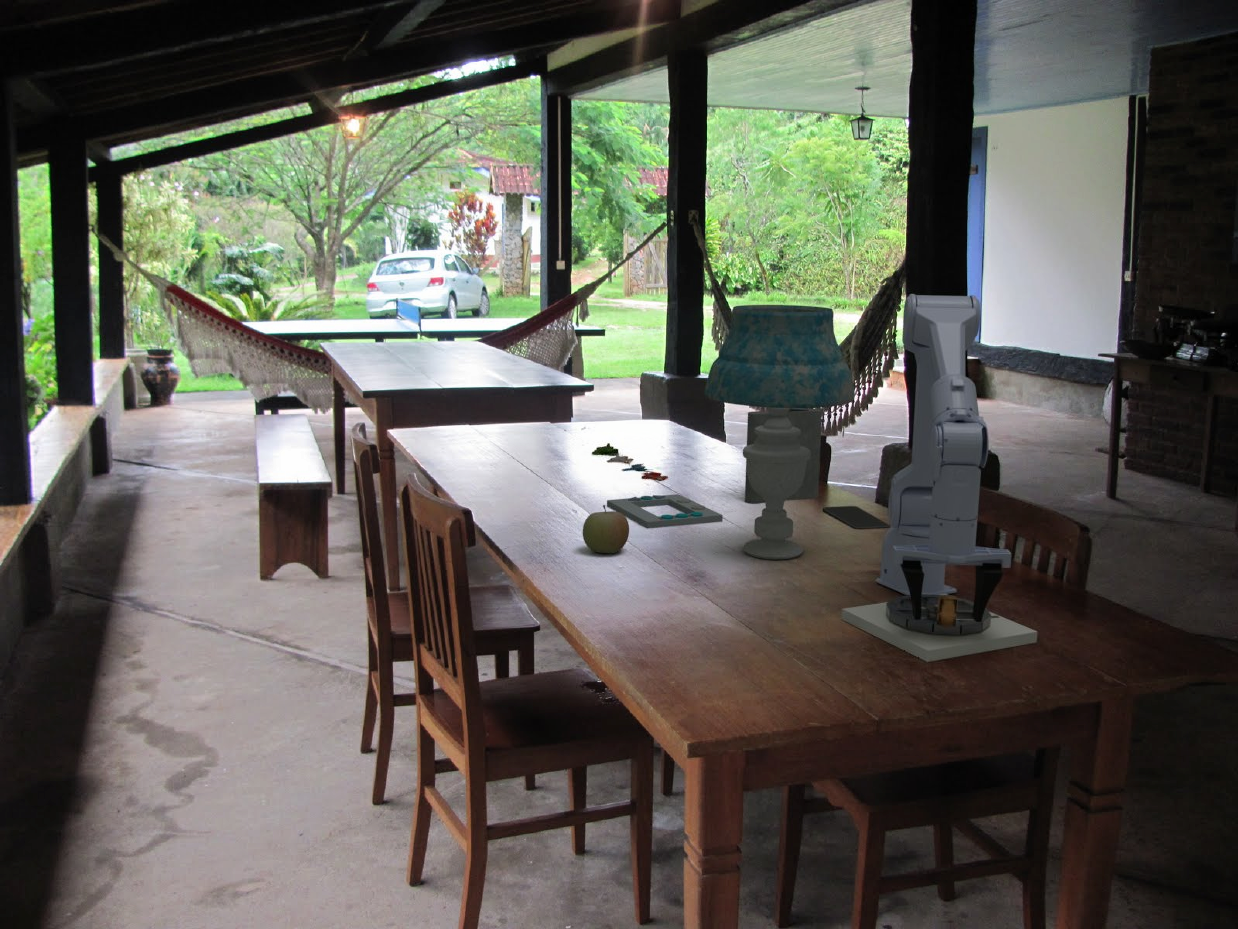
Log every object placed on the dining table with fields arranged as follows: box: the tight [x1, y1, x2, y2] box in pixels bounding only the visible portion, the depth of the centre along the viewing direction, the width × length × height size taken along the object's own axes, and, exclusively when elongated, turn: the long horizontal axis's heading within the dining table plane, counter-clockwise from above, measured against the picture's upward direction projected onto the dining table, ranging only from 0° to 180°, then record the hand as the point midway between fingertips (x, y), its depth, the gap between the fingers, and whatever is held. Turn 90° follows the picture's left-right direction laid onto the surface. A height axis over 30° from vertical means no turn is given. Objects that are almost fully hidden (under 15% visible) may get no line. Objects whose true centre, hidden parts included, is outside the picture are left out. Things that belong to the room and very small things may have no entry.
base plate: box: [841, 594, 1038, 663], centre depth 165 cm, size 18×18×2 cm
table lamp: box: [704, 304, 856, 561], centre depth 198 cm, size 24×24×40 cm
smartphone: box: [822, 505, 891, 530], centre depth 226 cm, size 7×1×15 cm
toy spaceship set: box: [591, 442, 669, 481], centre depth 271 cm, size 35×6×3 cm, turn 22°
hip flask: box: [744, 408, 823, 505], centre depth 239 cm, size 16×4×20 cm, turn 112°
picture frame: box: [606, 493, 724, 530], centre depth 228 cm, size 18×2×15 cm
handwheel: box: [886, 594, 991, 635], centre depth 164 cm, size 14×13×5 cm
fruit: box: [582, 504, 630, 554], centre depth 201 cm, size 8×7×8 cm
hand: (946, 618), depth 158 cm, fingers open, 7 cm apart
